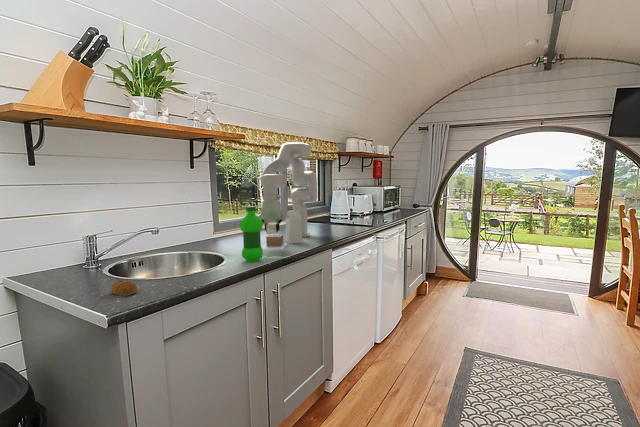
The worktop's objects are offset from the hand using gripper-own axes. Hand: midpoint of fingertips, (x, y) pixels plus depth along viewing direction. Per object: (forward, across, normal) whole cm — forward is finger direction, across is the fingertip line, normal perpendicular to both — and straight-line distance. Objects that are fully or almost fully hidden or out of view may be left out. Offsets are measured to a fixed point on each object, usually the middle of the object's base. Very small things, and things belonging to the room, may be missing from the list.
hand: (272, 231), depth 182 cm
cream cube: (+1, 0, 0) cm, 1 cm away
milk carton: (+10, -9, -16) cm, 21 cm away
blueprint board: (+10, 0, -4) cm, 10 cm away
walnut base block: (+10, 0, -7) cm, 12 cm away
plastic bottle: (+9, +4, +26) cm, 28 cm away
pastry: (+8, +36, +71) cm, 80 cm away
